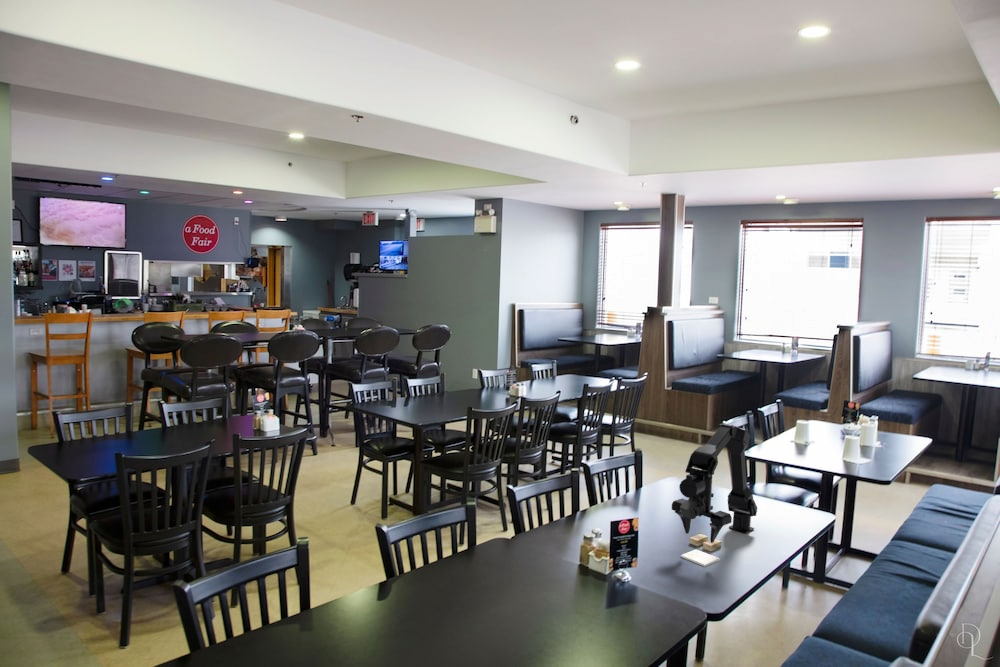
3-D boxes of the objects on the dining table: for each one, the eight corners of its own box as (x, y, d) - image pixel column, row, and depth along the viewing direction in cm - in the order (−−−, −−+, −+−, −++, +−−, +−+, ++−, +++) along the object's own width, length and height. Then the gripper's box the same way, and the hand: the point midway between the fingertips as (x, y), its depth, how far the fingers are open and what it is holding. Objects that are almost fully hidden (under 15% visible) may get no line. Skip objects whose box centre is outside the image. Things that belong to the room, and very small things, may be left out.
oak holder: (699, 539, 235) (700, 533, 234) (721, 547, 228) (721, 541, 228) (689, 543, 231) (689, 537, 231) (710, 551, 225) (711, 545, 224)
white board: (695, 549, 225) (719, 558, 218) (695, 552, 225) (719, 562, 218) (680, 555, 220) (705, 564, 213) (680, 558, 220) (704, 568, 213)
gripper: (662, 487, 219) (659, 534, 221) (713, 503, 205) (710, 553, 207) (683, 481, 227) (680, 526, 228) (733, 496, 212) (730, 545, 214)
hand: (699, 537), depth 219 cm, fingers open, 9 cm apart
